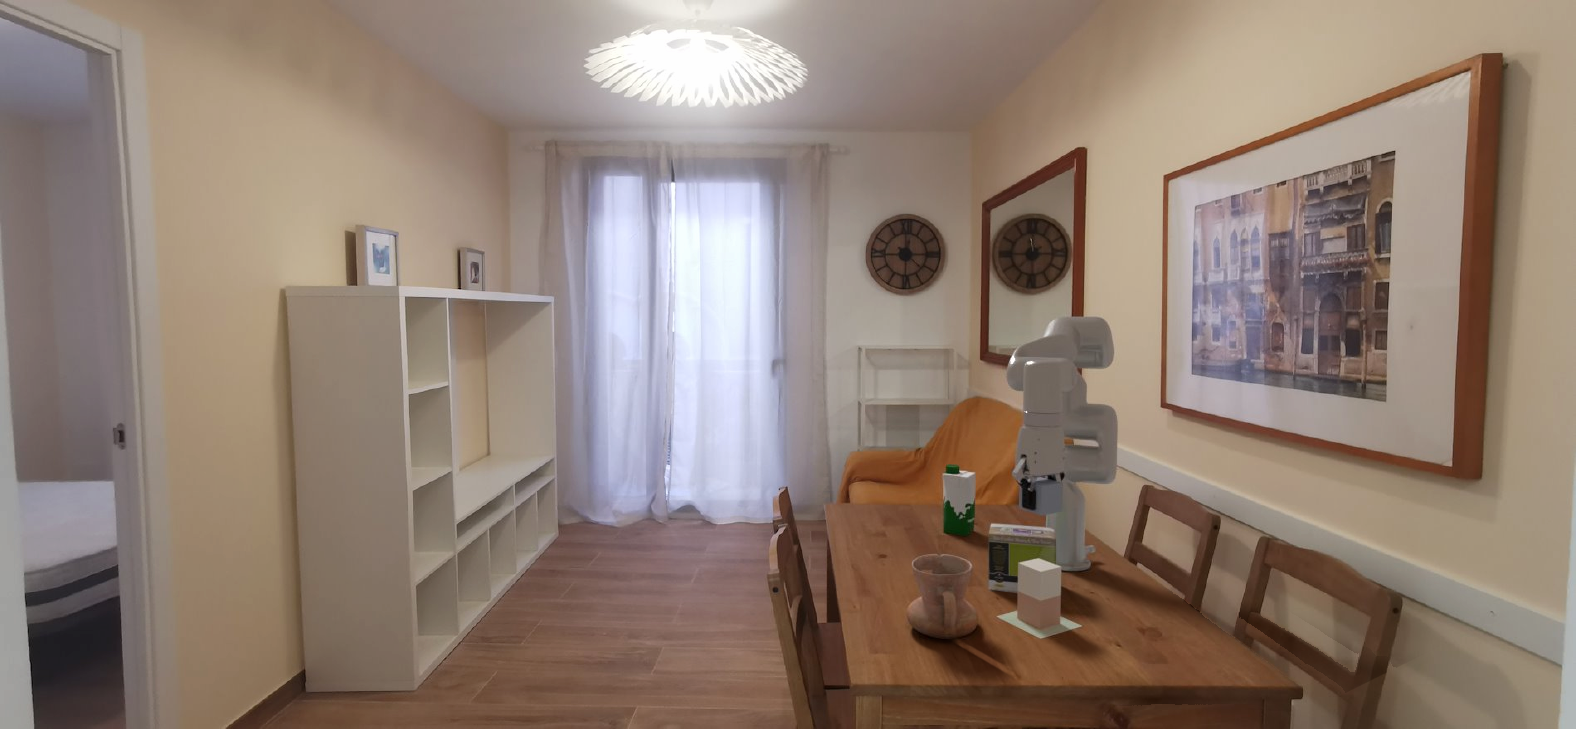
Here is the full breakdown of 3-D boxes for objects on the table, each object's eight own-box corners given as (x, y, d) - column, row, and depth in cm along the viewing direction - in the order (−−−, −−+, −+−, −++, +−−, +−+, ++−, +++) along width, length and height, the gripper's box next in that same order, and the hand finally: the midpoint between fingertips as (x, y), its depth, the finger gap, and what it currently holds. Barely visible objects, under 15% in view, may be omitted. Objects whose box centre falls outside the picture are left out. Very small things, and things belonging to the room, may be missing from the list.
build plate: (1036, 610, 155) (1036, 605, 155) (1082, 631, 145) (1082, 625, 145) (996, 621, 150) (996, 616, 150) (1040, 644, 139) (1040, 638, 139)
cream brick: (1037, 585, 151) (1038, 558, 151) (1060, 595, 146) (1061, 566, 145) (1017, 590, 148) (1018, 562, 148) (1040, 600, 143) (1040, 571, 142)
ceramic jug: (903, 611, 155) (903, 548, 154) (970, 613, 154) (970, 549, 153) (910, 651, 137) (910, 580, 136) (986, 653, 136) (986, 582, 135)
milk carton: (949, 525, 220) (950, 462, 219) (978, 530, 215) (978, 465, 214) (939, 532, 213) (939, 467, 211) (968, 537, 208) (969, 470, 206)
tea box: (1054, 587, 169) (1055, 526, 168) (1056, 602, 160) (1057, 538, 159) (989, 579, 174) (990, 520, 173) (987, 594, 165) (988, 532, 164)
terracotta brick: (1037, 613, 151) (1037, 585, 151) (1060, 623, 146) (1060, 595, 146) (1017, 618, 148) (1017, 590, 148) (1039, 629, 143) (1040, 600, 143)
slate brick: (1039, 504, 150) (1040, 477, 149) (1062, 511, 144) (1063, 482, 144) (1018, 508, 147) (1019, 480, 147) (1041, 515, 142) (1042, 485, 141)
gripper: (1056, 415, 152) (1055, 497, 153) (997, 420, 144) (996, 507, 145) (1086, 419, 145) (1084, 505, 146) (1025, 425, 137) (1024, 516, 138)
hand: (1040, 505), depth 146 cm, fingers closed on slate brick, 6 cm apart
